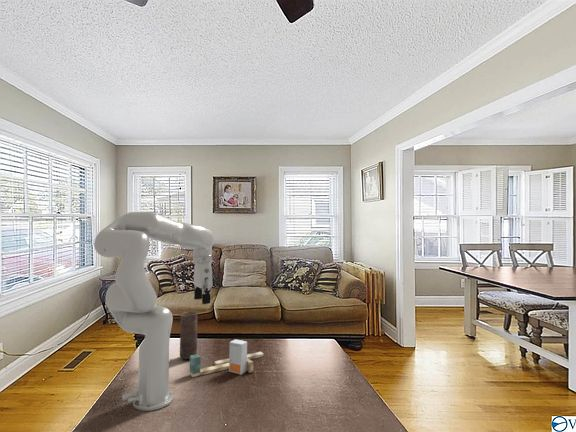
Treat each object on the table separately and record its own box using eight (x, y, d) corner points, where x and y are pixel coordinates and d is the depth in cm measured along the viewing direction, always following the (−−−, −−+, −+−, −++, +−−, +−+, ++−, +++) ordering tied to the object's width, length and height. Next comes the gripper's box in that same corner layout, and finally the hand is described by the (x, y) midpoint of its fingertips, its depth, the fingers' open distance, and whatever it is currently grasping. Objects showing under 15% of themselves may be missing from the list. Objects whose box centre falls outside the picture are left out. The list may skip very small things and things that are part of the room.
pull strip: (199, 384, 134) (199, 365, 134) (189, 374, 144) (189, 355, 144) (253, 371, 146) (253, 353, 146) (240, 362, 156) (241, 345, 156)
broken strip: (217, 366, 152) (217, 363, 152) (214, 364, 154) (214, 361, 154) (263, 356, 164) (263, 353, 164) (260, 354, 166) (260, 351, 166)
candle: (194, 361, 157) (194, 314, 157) (177, 361, 157) (177, 314, 158) (199, 355, 165) (199, 310, 165) (182, 354, 165) (183, 310, 165)
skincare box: (228, 372, 147) (228, 341, 147) (235, 368, 150) (235, 338, 151) (241, 375, 144) (241, 344, 144) (247, 371, 148) (247, 341, 148)
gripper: (219, 261, 146) (218, 304, 146) (204, 257, 161) (203, 296, 161) (200, 262, 142) (200, 306, 142) (187, 258, 157) (186, 298, 157)
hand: (202, 301), depth 151 cm, fingers open, 9 cm apart
